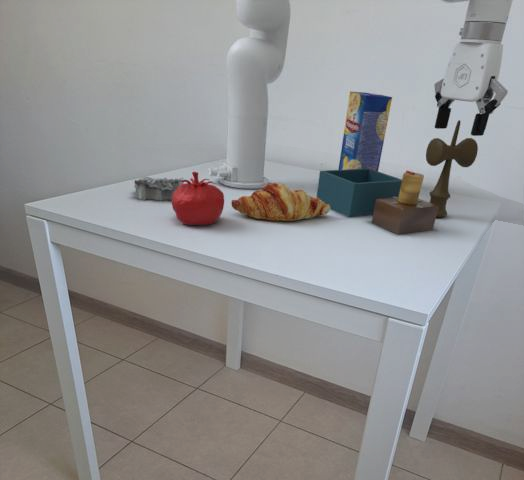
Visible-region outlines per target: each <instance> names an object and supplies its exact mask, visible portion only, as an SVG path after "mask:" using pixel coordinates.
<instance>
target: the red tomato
mask: <svg viewBox="0 0 524 480" xmlns="http://www.w3.org/2000/svg"><path fill="white" fill-rule="evenodd" d="M191 173H192V176H193V177H190V178H189V180H188V179H183V180H182V181H180V180H179V181H180V182H184V183H183V184H182V185H180V186H178V187H177V189H176V190H175V191H174V193H173V196H172V200H171V206H172V210H173V211H174V213H175V216H176V218H177V220H178V221H179V222H180V223H181V224H184V225H189V226H202V225H203V226H205V225H212V224H214V223H215V222H217V221H218V220H219V219H220V217H221V215H222V213H223V211H224V207H225V194H224V192H223V191H222V190H221V189H220V188H219V187H217V186H216V183H215V182H213V181H210V179H208V178H204V179H201V180H200V181H199V172H197V171H192V172H191Z"/></svg>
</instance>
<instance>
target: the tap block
mask: <svg viewBox="0 0 524 480" xmlns="http://www.w3.org/2000/svg"><path fill="white" fill-rule="evenodd" d="M438 208H439V206H437V205H435V204H432V203H430V201H426V200H424V199H421V198H419V199H418V203H417V204H415V205H408V204H403V203H400V202H398V197H395V196H393V198H382V199H376V202H375V208H374V213H373V215H372V218H371V223H372V224H373V225H376V226H378V227H380V228H383V229H385V230H387V231H389V232H391V233H393V234H395V235H404V234H412V233H418V232H419V233H420V232H427V231H433V230H434V226H435V223H436V218H437V217H436V215H437V212H438Z"/></svg>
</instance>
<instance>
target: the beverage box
mask: <svg viewBox="0 0 524 480" xmlns="http://www.w3.org/2000/svg"><path fill="white" fill-rule="evenodd" d="M392 100H393V97H392V96H389V95H384V94H379V93H376V92H362V91H349V97H348V104H347V109H346V117H345V124H344V130H343V136H342V143H341V150H340V157H339V162H338V163H339V164H338V169H337V170H347V169H368V168H369V169H372V170H375V171H378V172H379V169H380V163H381V159H382V152H383V147H384V142H385V138H386V131H387V126H388V121H389V116H390V111H391V106H392Z"/></svg>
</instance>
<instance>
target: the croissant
mask: <svg viewBox="0 0 524 480" xmlns="http://www.w3.org/2000/svg"><path fill="white" fill-rule="evenodd" d="M230 204H231V207H232V209H234V211H238V212H239V213H240V214H242V215H243V214H244V215H246V216H248V217H250V218H254V219H257V220H259V219H262V220H267V221H273V222H274V221H275V222H278V221H283V222H293V221H299V220H302V219H305V220H307V219H311V218H314V217H322V216H325V215H327V214H328V213H329V212H330V210H331V208H330V205H329V204H325V203H324V202H323V201H322V200H320V199H319V198H317V197H313V196H311V195H310V194H307V192H306V191H304V190H303V189H293V191H292V190H291V189H290V187H288V185H286V184H283V183H277V182H272V183H270V182H269V184H268V185H266V186H265V187H263V188H261V190H259V189H258V190H255V191H253V192H252V193H251V194H250V196H249V195H244V196H241V197H239V198H238V199H232V200H231V203H230Z"/></svg>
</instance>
